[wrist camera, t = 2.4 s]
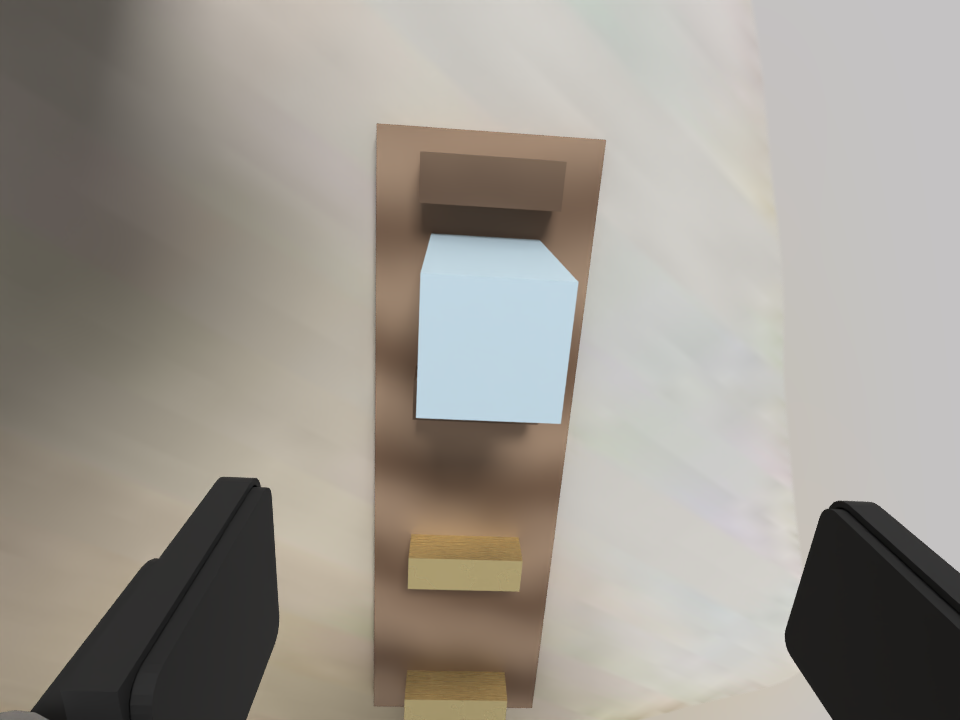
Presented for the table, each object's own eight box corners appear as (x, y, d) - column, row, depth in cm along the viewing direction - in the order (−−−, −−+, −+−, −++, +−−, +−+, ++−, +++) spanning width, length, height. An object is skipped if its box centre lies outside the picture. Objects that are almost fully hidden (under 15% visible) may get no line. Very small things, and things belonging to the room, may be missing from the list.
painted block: (431, 233, 27) (420, 273, 18) (539, 239, 27) (578, 282, 18) (427, 337, 28) (416, 417, 20) (529, 342, 29) (560, 423, 20)
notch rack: (379, 124, 26) (370, 121, 23) (600, 140, 26) (618, 139, 24) (376, 692, 37) (369, 736, 35) (530, 693, 38) (536, 737, 35)
